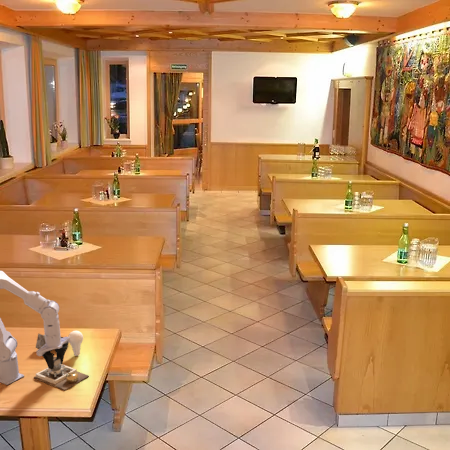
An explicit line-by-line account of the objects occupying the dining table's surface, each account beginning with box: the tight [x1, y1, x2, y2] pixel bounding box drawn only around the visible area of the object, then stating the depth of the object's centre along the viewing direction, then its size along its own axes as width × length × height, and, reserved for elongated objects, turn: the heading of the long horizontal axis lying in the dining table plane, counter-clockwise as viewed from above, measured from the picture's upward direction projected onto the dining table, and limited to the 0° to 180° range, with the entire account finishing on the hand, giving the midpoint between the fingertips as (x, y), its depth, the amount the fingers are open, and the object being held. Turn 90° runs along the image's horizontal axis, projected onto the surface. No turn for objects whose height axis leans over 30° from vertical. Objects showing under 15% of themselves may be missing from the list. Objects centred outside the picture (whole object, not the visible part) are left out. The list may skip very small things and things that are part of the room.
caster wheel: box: [35, 332, 69, 350], centre depth 245 cm, size 7×11×10 cm
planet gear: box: [45, 356, 66, 377], centre depth 221 cm, size 8×8×6 cm
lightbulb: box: [67, 330, 84, 357], centre depth 237 cm, size 6×6×11 cm
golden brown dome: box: [66, 371, 78, 384], centre depth 217 cm, size 4×4×2 cm
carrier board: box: [33, 370, 90, 391], centre depth 220 cm, size 18×12×1 cm
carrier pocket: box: [35, 364, 78, 384], centre depth 222 cm, size 11×11×1 cm
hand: (55, 365), depth 221 cm, fingers closed on planet gear, 4 cm apart
